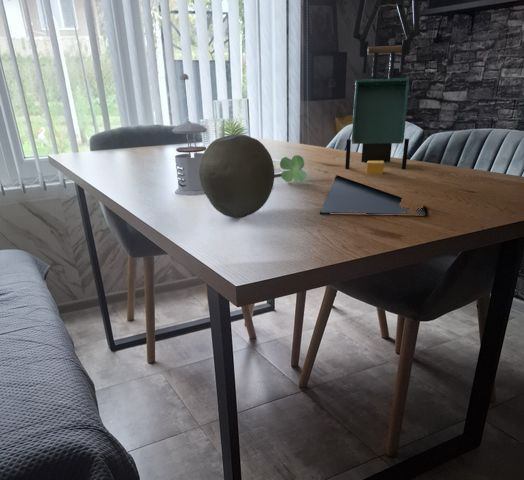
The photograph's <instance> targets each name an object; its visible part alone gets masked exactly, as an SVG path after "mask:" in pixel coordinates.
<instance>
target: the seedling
mask: <svg viewBox="0 0 524 480" xmlns="http://www.w3.org/2000/svg"><path fill="white" fill-rule="evenodd" d="M279 166H280V169H282V170H283V171H282V172H281V174H280V175H281V179H282V180H284V181H285V182H287V183H291V182H292V181H294V182H295V183H301V182H303V181H305V180H306V179H307V175H308V174H307V173H306V171H305V170H303V168H304V167H305V160H304V158H303V156H301V155H299V154H298V155H297V154H295V155H293V156H292V158H289V157H287V156H284V157H282V158H281V159H280V160H279Z"/></svg>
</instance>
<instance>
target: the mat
mask: <svg viewBox="0 0 524 480" xmlns="http://www.w3.org/2000/svg"><path fill="white" fill-rule="evenodd" d="M401 197H402V196H398V195H396V194H394V193H393V194H392V193H390V192H387V191H385V190H382V189H378V188H376V187H372V186H369V185H366V184H364V183H362V182H358V181H356V180H353V179H349V178H347V177H344V176H341V175H338V174H336V176H335V177H334V180H333V182H332V184H331V187H330V188H329V191H328V193H327V195H326V197H325V200H324V202H323V204H322V207H321V209H320V211H319V215H331V214H330V213H355V212H356V213H366V214H401V213H402V212H404V211H405V214H408V213H409V212H407V211H408V210H409V208H406V209H405V207H403V209H402V208H401V206H399V205H400V204H399V203H400V202H401V199H402V198H403V197H402V198H401ZM418 209H419V208H418ZM418 209H417V210H416V212H417V211H418V212H417V213H418V214H419V215H420V214H422V215H426V216H427V214H426V211H425V207H424V206H423V208H421V209H422V210H421V209H420V210H418ZM350 210H351V211H352V212H351V211H350ZM401 211H402V212H401ZM414 211H415V210H414ZM420 211H421V212H420ZM419 212H420V213H419ZM402 214H404V213H402Z"/></svg>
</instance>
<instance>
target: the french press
mask: <svg viewBox="0 0 524 480" xmlns="http://www.w3.org/2000/svg"><path fill="white" fill-rule="evenodd" d="M189 78H190V77H189V75H188V74H187V73H182V74H180V75H179V80H180V81H183V86H184V96H185V107H186V116H187V121H186V122H184V123H180V124H178V125H176V126H175V127H173V129H172V130H171V132H172V133H173V134H176V135H177V134H178V135H179V134H180V135H185V134H186V140H187V146H179V147H177V148H176V149H175V151H176V152H177V153H181V154H177V155H175V156H174V160H175V168H176V178H177V186H178V188H177V189H176V190H175V191H174V193H175V194H176V195H182V196H200V195H206V194H205V192H204V190H203V188H202V185H201V182H200V177H199V166H200V162H201V158H202V156H203V154H204V152H205V150H206V149H207V147H206V146H202V145H200V146H198V145H197V144H196V143H197V142H196V135H195V134H200V133H205V132H207V131H208V129H207V128H206V127H204V126H203V125H202V124H200V123H197V122H193V121H190V119H189V108H188V98H187V97H188V96H187V89H186V88H187V87H186V81H187V80H189ZM192 134H193V136H192V137H193V139H191V135H192ZM192 142H194V145H192ZM191 153H193V157H192V154H191Z"/></svg>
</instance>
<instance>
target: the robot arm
mask: <svg viewBox="0 0 524 480" xmlns="http://www.w3.org/2000/svg"><path fill="white" fill-rule="evenodd" d="M366 2H367V1H366V0H359V4H358V9H357V14H356V19H355V23H354V28H353V33H352V38H353V39H354V40H357V41H359V58H363V67H362V68H363V69H362V74H367V73H368V71H367V70H368V60H369V59H368V57H369V55H368V47H369V44H370V43H369V41H366V40H367V38H368V36H369V34H370V31H371V28H372V27H373V24H374V22H375V20H376V18H377V15H378V13H379V11H380V8H381V7H387V6H391V7H394V6H395V7H396V8H397V12H398V14H399V19H400V22H401V26H402V29H403V31H404V32H403V33H404V36H405V39H402V43H401V46H402V51H401V53H400V61H399V62H400V63H399V73H403V72H404V66H405V65H404V64H405V57H406V56H409V55H410V53H411V44H412V40H413V39H414V38H417V37H418V36H419V35H420V34H421V25H420V23H421V22H420V3H419V2H420V0H412V18H413V19H412V20H413V31H411V27H410V24H409V22H408V18H407V14H406V11H405V7H404V4H403V0H375V3H374V5H373V8H372V10H371V12H370V14H369V17H368V19H367V22H366V24H365V25H364V28H363V31H362V33H361V34H360V31H361V27H362V22H363V17H364V13H365V7H366Z"/></svg>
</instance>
